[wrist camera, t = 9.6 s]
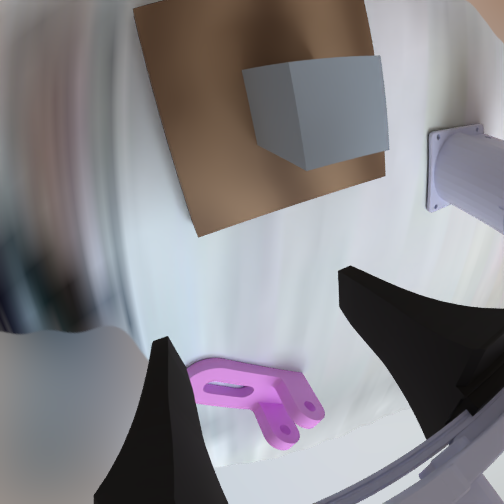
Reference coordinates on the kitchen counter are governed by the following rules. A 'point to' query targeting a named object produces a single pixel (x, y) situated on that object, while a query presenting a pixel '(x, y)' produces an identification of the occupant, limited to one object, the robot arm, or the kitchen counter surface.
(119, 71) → the kitchen counter surface
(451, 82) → the kitchen counter surface
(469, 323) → the robot arm
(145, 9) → the walnut board
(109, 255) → the kitchen counter surface
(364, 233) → the kitchen counter surface
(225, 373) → the bracket
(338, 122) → the slate block
